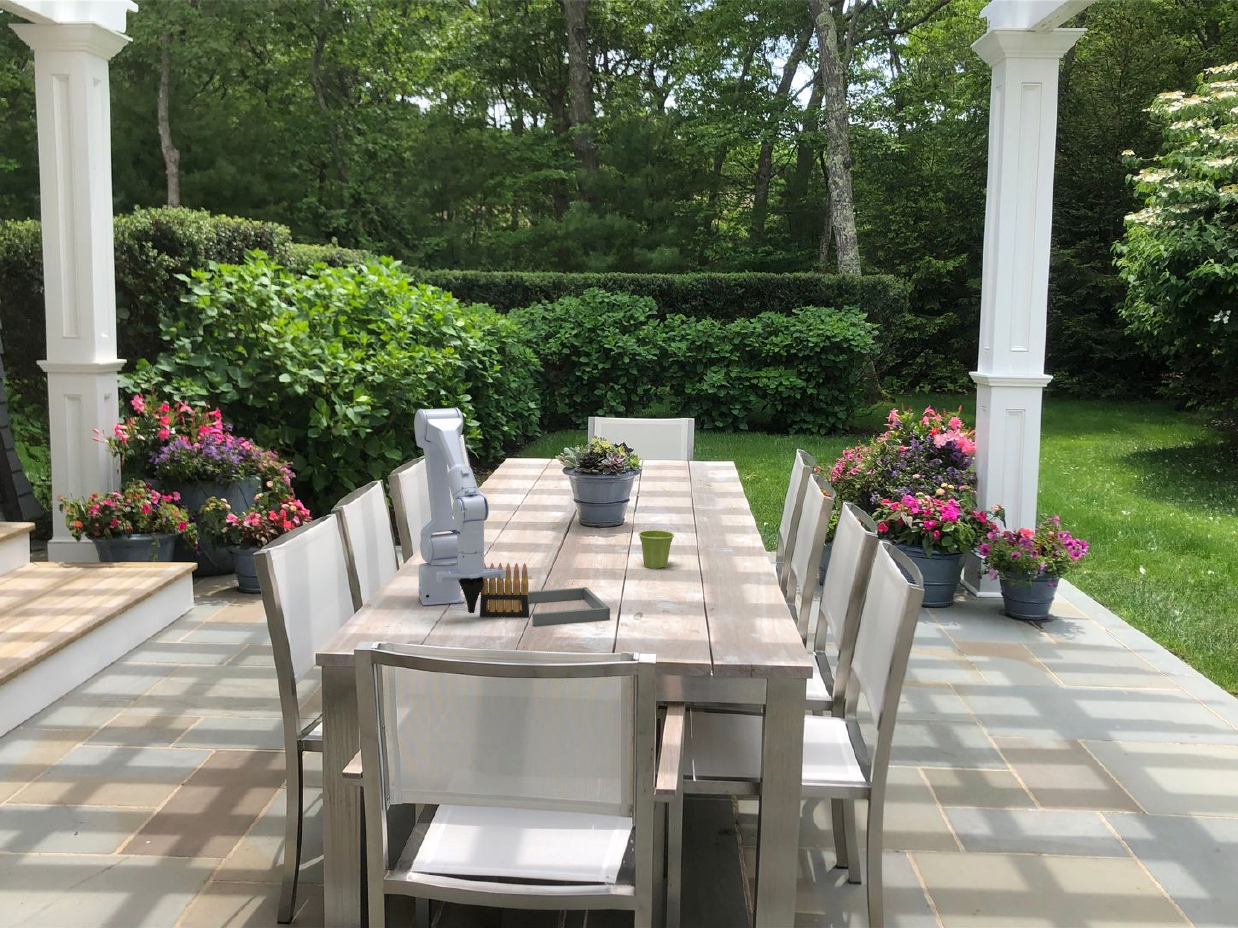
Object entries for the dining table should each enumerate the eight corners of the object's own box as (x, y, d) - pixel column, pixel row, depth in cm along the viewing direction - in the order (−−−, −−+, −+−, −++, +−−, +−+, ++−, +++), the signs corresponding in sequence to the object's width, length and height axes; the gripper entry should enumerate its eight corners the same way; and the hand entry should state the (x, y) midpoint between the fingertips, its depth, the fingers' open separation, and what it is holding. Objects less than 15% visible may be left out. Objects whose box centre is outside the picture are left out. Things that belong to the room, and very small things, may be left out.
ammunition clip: (479, 617, 226) (479, 563, 224) (480, 614, 228) (480, 561, 226) (528, 617, 226) (528, 564, 224) (529, 615, 228) (529, 562, 226)
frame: (533, 626, 220) (533, 614, 219) (515, 603, 237) (515, 592, 236) (609, 619, 225) (610, 608, 225) (586, 597, 242) (586, 587, 242)
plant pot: (674, 562, 277) (675, 530, 275) (672, 571, 267) (673, 538, 266) (639, 561, 278) (640, 529, 276) (636, 569, 268) (637, 537, 267)
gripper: (439, 557, 216) (440, 619, 218) (507, 552, 221) (508, 614, 223) (434, 549, 223) (435, 610, 225) (501, 545, 227) (501, 605, 229)
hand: (471, 612), depth 224 cm, fingers closed
